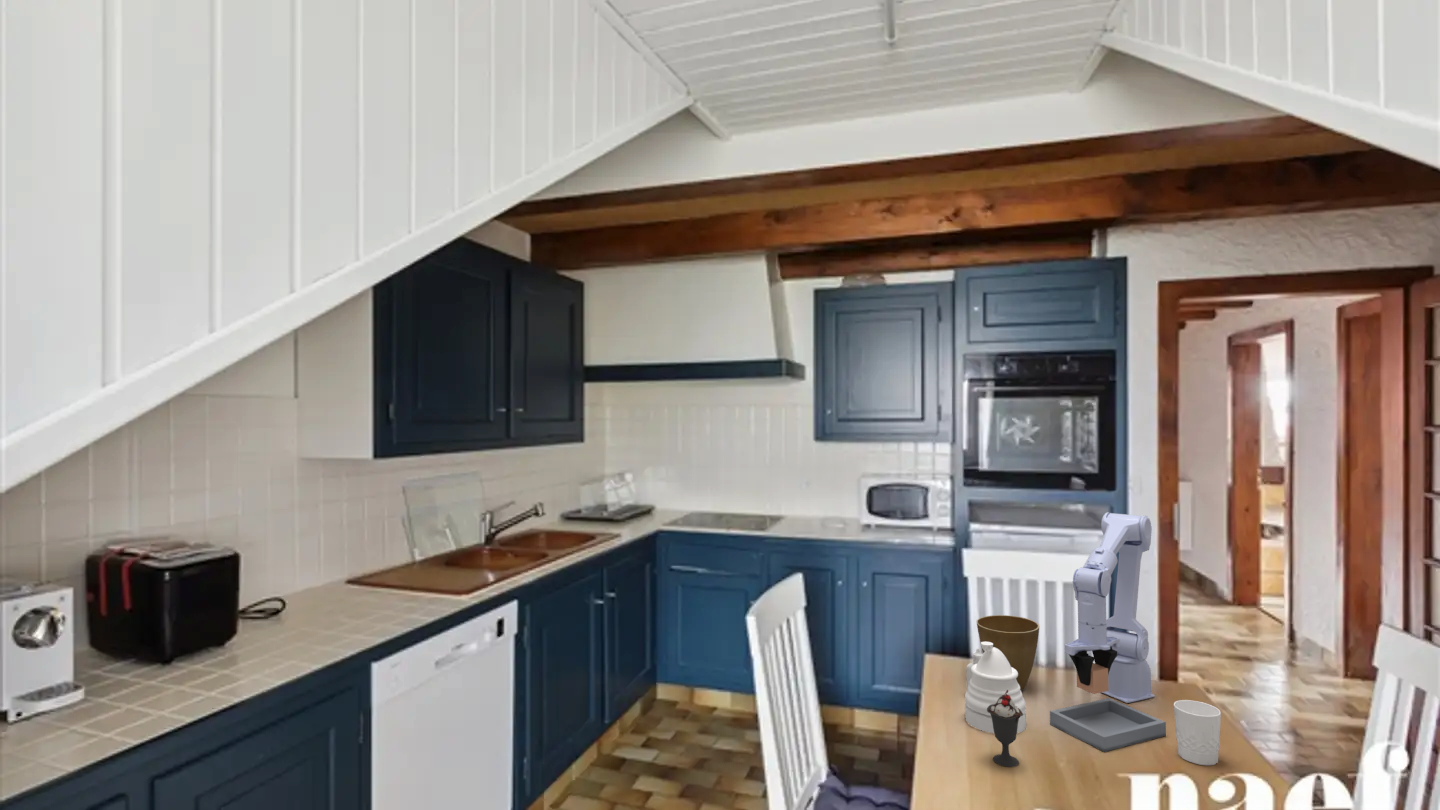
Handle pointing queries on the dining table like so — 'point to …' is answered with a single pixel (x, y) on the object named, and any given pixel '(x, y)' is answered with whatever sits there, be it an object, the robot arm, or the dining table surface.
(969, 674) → the eye dropper bottle
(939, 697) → the dining table surface
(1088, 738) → the tray
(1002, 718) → the sundae
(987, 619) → the plant pot
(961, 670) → the dining table surface
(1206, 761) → the white cup
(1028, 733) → the dining table surface
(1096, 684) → the block
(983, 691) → the honey pot
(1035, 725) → the dining table surface
